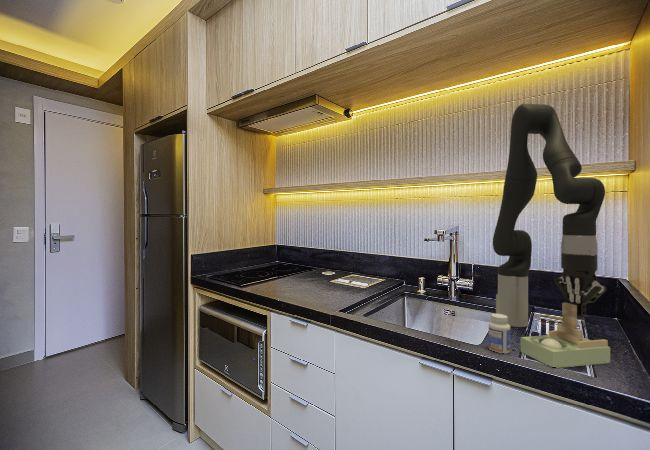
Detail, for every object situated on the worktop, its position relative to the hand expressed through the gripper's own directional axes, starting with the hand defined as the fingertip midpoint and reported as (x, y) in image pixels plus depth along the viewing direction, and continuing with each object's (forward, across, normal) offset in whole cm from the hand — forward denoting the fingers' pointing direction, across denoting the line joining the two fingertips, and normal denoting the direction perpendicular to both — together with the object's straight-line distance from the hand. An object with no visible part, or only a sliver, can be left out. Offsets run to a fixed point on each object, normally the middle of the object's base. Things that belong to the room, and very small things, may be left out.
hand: (578, 316), depth 83 cm
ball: (+8, 0, -9) cm, 12 cm away
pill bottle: (+11, -7, -18) cm, 22 cm away
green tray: (+10, 0, -5) cm, 12 cm away
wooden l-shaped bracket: (+6, 0, -3) cm, 7 cm away
